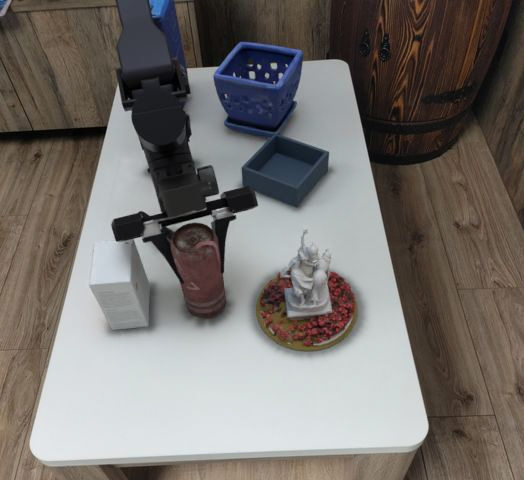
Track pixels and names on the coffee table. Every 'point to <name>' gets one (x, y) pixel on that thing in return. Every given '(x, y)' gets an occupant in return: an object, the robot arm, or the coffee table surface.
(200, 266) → the can
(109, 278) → the small box
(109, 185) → the coffee table surface
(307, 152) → the bin
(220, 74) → the flower pot
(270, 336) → the figurine
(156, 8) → the book
